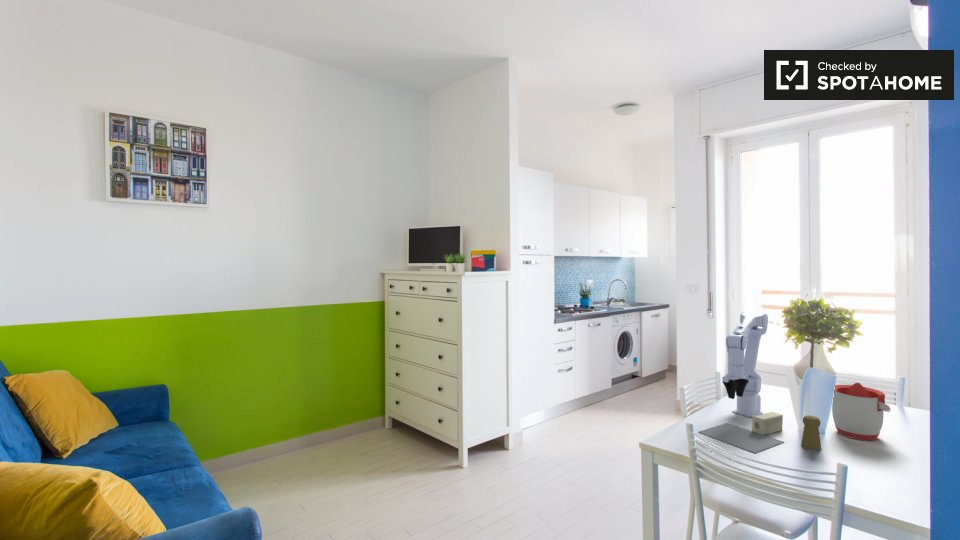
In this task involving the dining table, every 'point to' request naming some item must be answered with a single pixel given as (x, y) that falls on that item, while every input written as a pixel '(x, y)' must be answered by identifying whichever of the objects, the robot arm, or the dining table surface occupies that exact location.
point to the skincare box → (767, 423)
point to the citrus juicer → (858, 411)
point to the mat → (741, 437)
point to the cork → (811, 433)
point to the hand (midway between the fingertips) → (735, 397)
